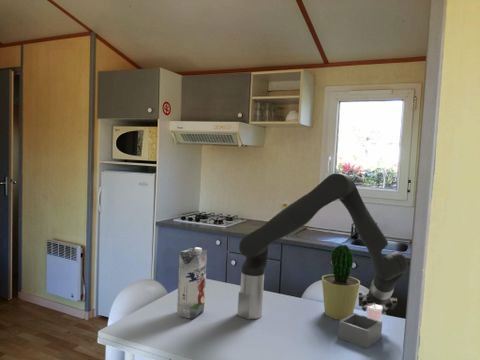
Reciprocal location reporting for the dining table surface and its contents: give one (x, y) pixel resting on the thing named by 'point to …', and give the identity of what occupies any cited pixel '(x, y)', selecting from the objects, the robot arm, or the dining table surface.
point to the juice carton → (191, 282)
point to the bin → (360, 330)
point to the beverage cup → (374, 312)
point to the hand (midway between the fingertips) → (373, 309)
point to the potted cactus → (340, 285)
